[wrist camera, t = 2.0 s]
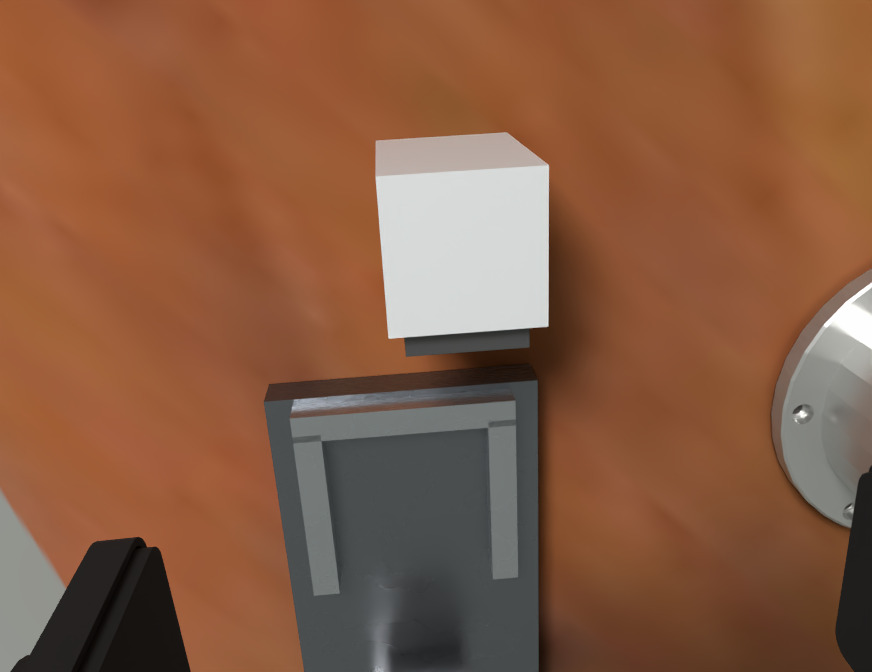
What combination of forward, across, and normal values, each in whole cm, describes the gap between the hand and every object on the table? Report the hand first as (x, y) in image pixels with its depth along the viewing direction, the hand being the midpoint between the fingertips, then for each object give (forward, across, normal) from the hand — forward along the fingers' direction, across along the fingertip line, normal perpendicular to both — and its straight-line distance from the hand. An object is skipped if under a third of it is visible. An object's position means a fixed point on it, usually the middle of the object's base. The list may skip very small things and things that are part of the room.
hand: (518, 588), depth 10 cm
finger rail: (+19, +2, +16) cm, 24 cm away
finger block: (+19, -1, -1) cm, 19 cm away
